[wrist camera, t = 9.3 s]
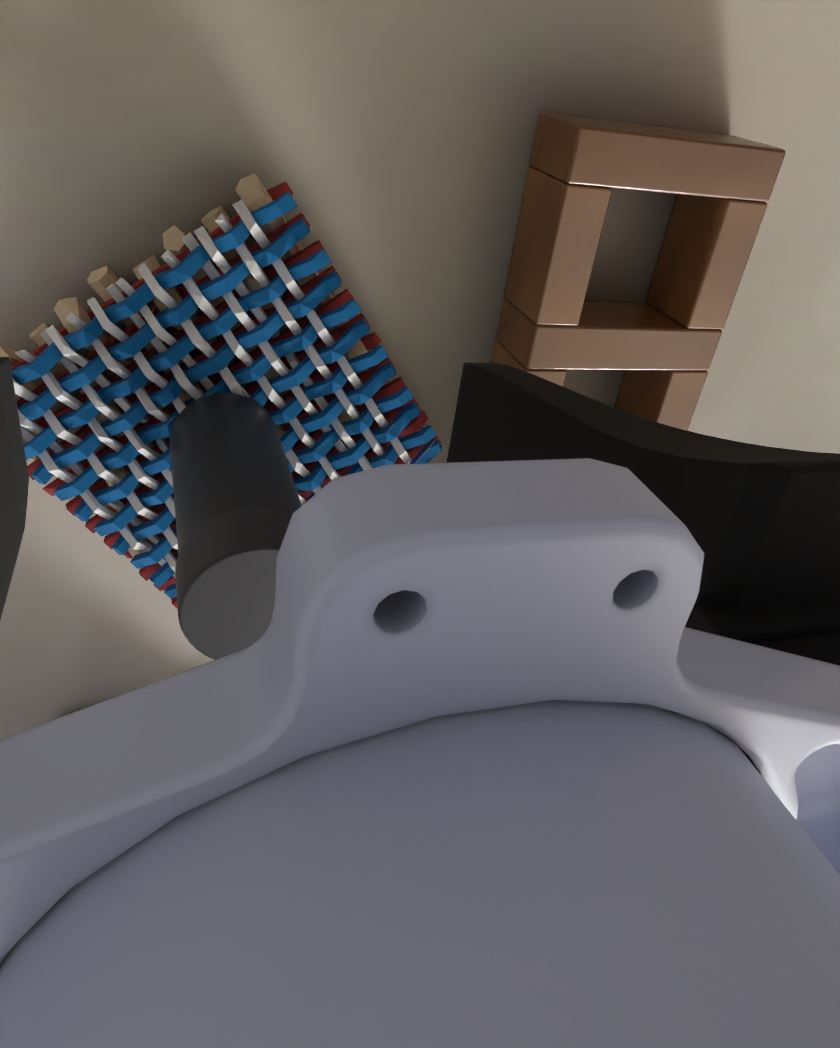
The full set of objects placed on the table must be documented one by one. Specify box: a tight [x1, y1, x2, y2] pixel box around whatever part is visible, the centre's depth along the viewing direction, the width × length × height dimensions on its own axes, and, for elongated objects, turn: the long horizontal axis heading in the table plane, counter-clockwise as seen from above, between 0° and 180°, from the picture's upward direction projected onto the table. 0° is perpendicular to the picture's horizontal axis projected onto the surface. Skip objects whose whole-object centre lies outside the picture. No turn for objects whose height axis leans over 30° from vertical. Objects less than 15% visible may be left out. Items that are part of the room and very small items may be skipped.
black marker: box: [169, 393, 302, 660], centre depth 19 cm, size 3×3×8 cm
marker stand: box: [491, 112, 785, 431], centre depth 26 cm, size 17×7×2 cm, turn 172°
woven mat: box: [0, 174, 442, 609], centre depth 23 cm, size 10×11×2 cm
